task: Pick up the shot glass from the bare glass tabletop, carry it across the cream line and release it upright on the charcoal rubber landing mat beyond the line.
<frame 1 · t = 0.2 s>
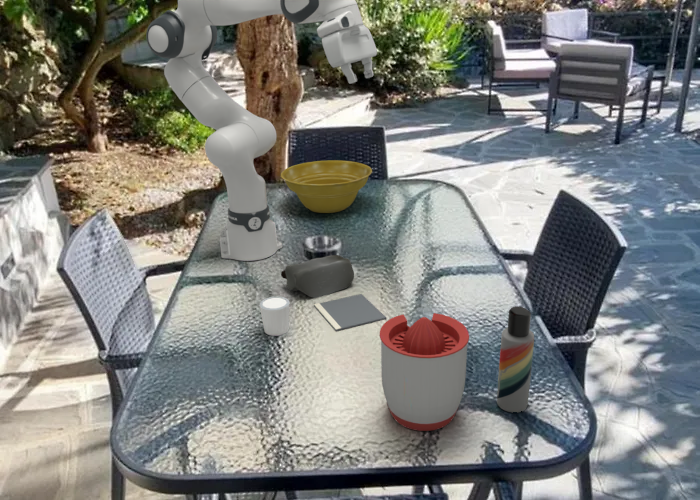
hand: (361, 80, 156), 52 cm above the table, tool tilted 20°, fingers open, 8 cm apart
shot glass: (276, 330, 148), on the table
lotion bottle: (511, 404, 120), on the table
citrus juicer: (421, 410, 119), on the table
planter bowl: (327, 207, 228), on the table
landing mat: (349, 312, 155), on the table
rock: (318, 287, 169), on the table
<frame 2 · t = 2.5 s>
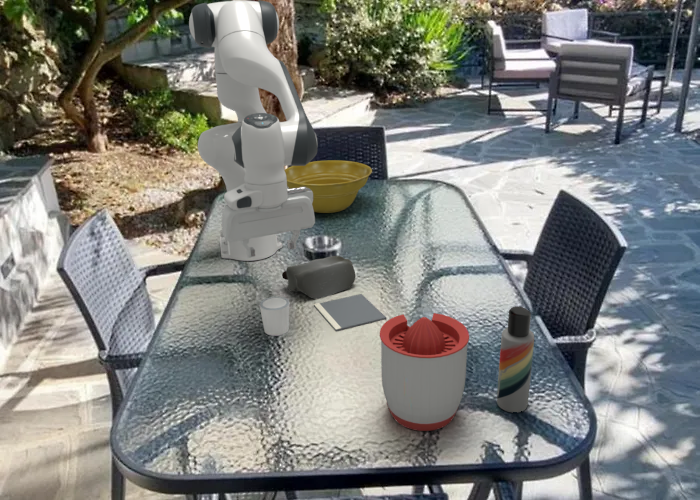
hand: (271, 252, 140), 19 cm above the table, tool pointing down, fingers open, 8 cm apart
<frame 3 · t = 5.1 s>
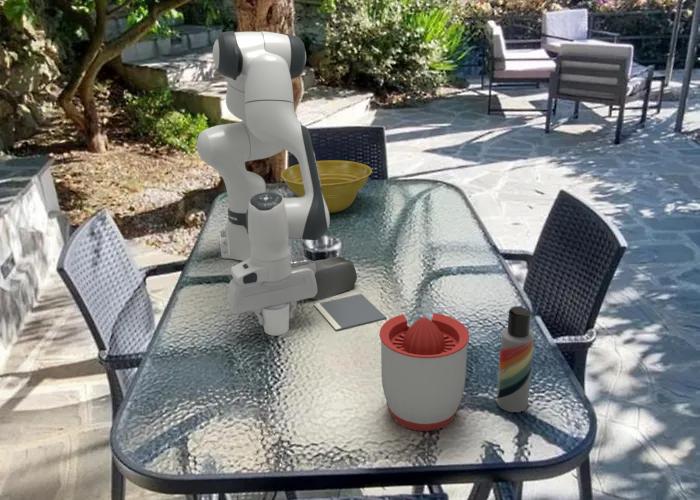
hand: (275, 320, 147), 2 cm above the table, tool pointing down, fingers closed on shot glass, 5 cm apart
shot glass: (276, 330, 148), on the table, touching gripper
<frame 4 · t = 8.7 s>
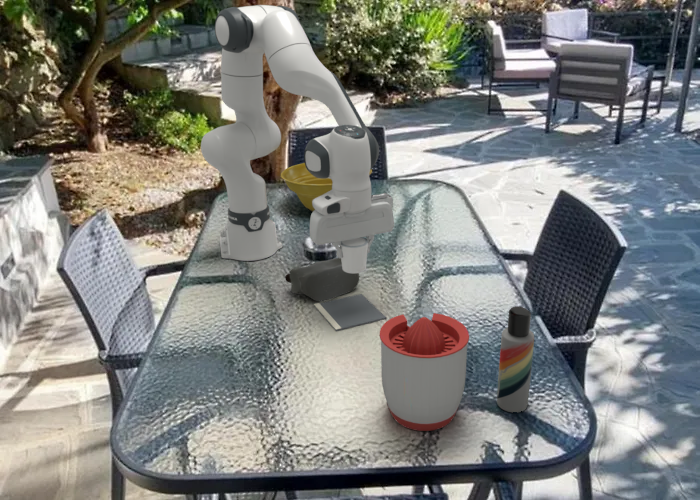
hand: (353, 254, 149), 15 cm above the table, tool pointing down, fingers closed on shot glass, 5 cm apart
shot glass: (354, 269, 151), point 11 cm above the table, touching gripper
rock: (322, 291, 167), on the table
everything else where it was.
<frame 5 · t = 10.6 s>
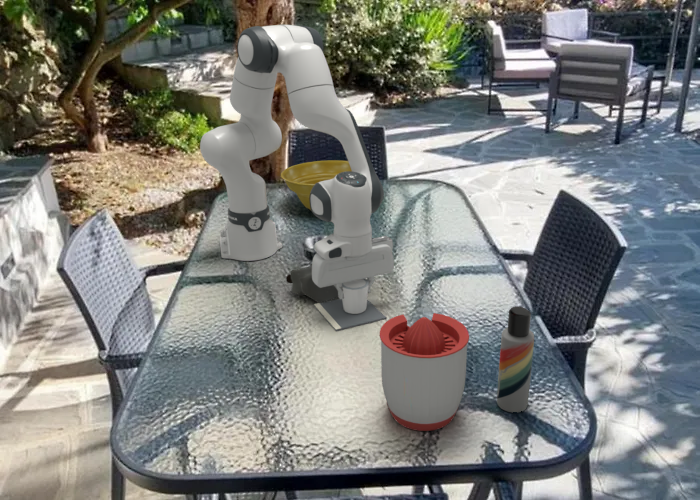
hand: (354, 295, 154), 4 cm above the table, tool pointing down, fingers closed on shot glass, 5 cm apart
shot glass: (354, 308, 155), point 1 cm above the table, touching gripper
when the fingers open (4 cm above the table, at t = 11.4 s): shot glass stays where it is, resting on landing mat.
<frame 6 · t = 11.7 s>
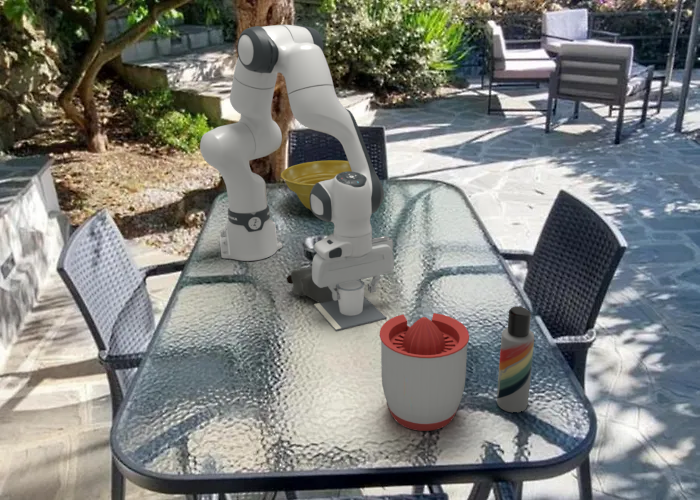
hand: (354, 295, 154), 4 cm above the table, tool pointing down, fingers open, 8 cm apart
shot glass: (351, 310, 155), resting on landing mat, touching gripper
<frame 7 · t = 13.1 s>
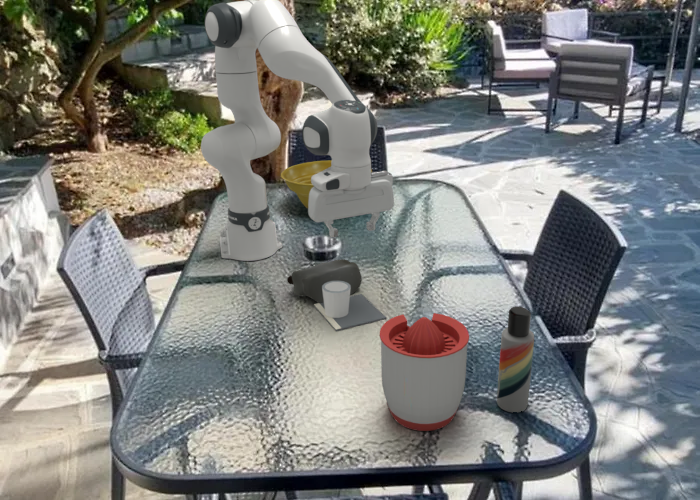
hand: (352, 233, 147), 20 cm above the table, tool pointing down, fingers open, 8 cm apart
shot glass: (336, 313, 154), resting on landing mat
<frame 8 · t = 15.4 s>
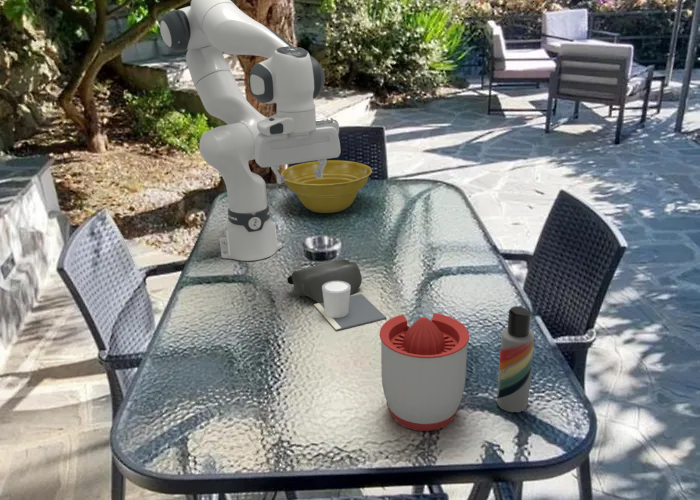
hand: (300, 180, 150), 31 cm above the table, tool pointing down, fingers open, 8 cm apart
at the end: shot glass inside the target area (5.1 cm from its centre), resting on landing mat; shot glass tilted 1°; the gripper is holding nothing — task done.
